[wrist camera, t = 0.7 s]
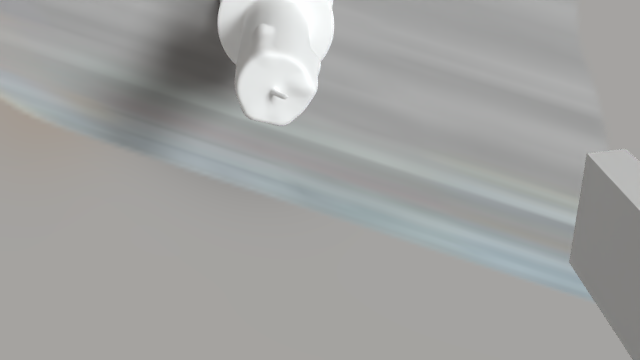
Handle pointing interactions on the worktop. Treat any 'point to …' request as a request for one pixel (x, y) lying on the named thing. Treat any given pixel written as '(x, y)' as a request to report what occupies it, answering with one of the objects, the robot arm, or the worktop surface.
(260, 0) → the candle
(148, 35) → the worktop surface
